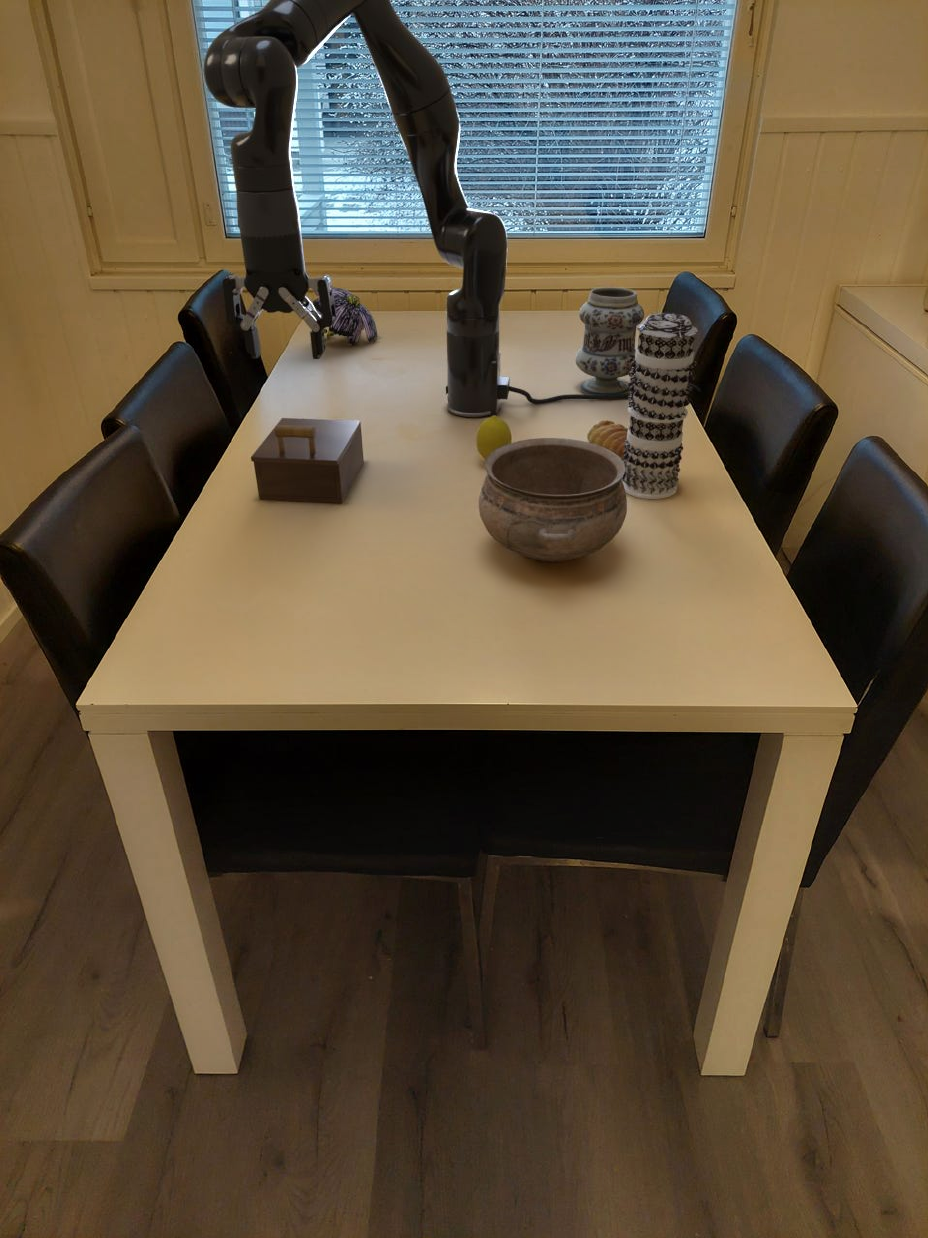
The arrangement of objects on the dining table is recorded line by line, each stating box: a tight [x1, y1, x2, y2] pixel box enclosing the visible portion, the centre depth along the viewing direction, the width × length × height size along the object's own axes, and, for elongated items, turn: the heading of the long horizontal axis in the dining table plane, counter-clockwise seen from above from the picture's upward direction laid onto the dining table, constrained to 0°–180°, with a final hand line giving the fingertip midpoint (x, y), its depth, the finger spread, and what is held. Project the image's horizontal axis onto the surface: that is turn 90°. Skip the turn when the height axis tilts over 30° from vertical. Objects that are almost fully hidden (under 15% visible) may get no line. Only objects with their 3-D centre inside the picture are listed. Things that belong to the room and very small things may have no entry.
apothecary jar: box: [574, 286, 645, 394], centre depth 163 cm, size 12×12×18 cm
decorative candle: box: [621, 312, 699, 500], centre depth 126 cm, size 9×9×25 cm
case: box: [253, 425, 365, 504], centre depth 134 cm, size 15×13×6 cm
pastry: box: [587, 419, 629, 460], centre depth 143 cm, size 9×7×4 cm
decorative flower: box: [311, 287, 378, 347], centre depth 194 cm, size 15×12×15 cm
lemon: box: [475, 415, 513, 461], centre depth 138 cm, size 6×6×8 cm
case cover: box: [250, 417, 362, 465], centre depth 130 cm, size 15×13×5 cm
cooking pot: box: [478, 437, 628, 564], centre depth 113 cm, size 25×19×12 cm
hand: (286, 356), depth 119 cm, fingers open, 8 cm apart
